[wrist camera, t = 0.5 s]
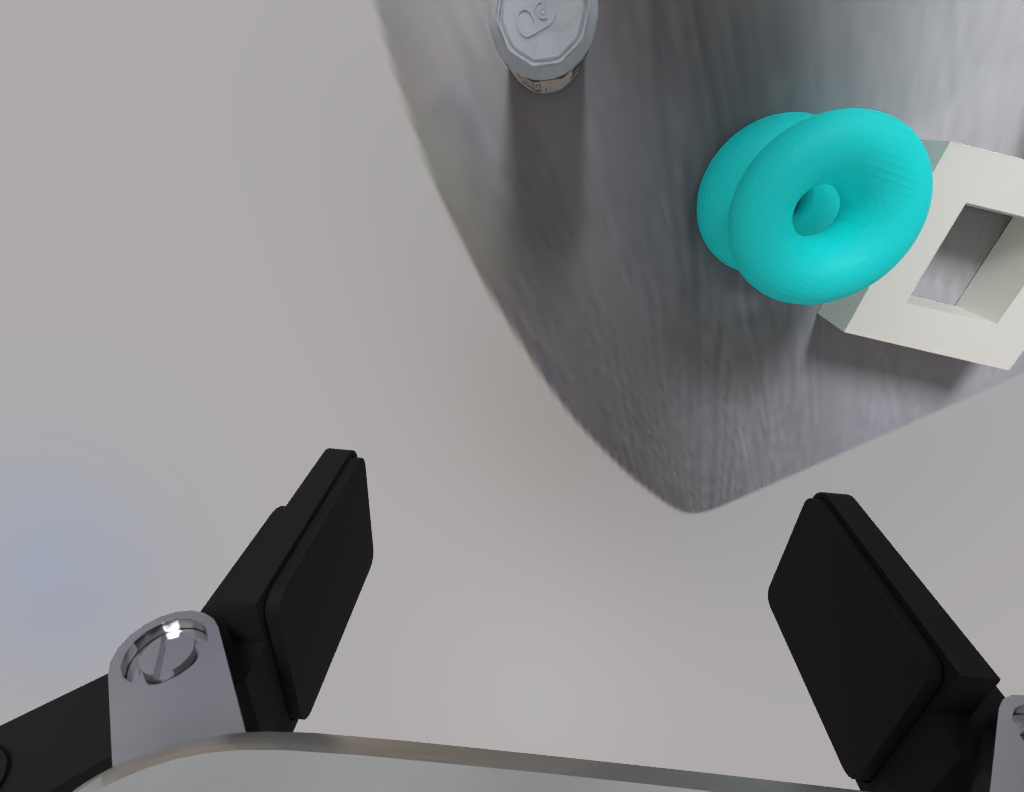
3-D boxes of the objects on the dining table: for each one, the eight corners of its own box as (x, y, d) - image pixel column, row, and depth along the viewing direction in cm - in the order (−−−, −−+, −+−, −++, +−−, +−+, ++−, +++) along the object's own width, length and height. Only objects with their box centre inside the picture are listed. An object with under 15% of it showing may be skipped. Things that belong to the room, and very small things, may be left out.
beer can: (595, 71, 32) (616, 44, 22) (527, 108, 34) (515, 99, 23) (566, -14, 31) (574, -90, 20) (495, 27, 32) (467, -23, 21)
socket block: (907, 139, 33) (950, 141, 29) (1081, 182, 33) (1144, 189, 30) (817, 313, 39) (843, 332, 35) (967, 348, 39) (1008, 370, 36)
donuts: (995, 149, 24) (864, 334, 29) (877, 143, 33) (791, 286, 38) (806, 74, 24) (702, 278, 28) (737, 89, 32) (667, 242, 37)
